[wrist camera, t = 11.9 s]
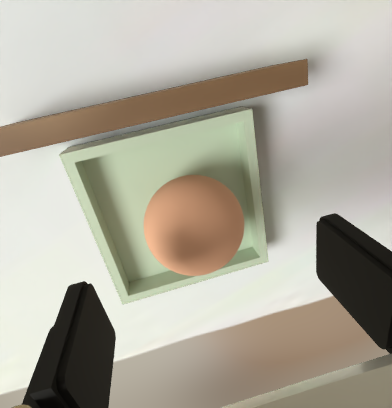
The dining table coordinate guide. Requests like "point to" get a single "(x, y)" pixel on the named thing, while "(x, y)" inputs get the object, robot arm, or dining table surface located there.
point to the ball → (194, 225)
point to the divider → (150, 107)
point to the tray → (153, 180)
